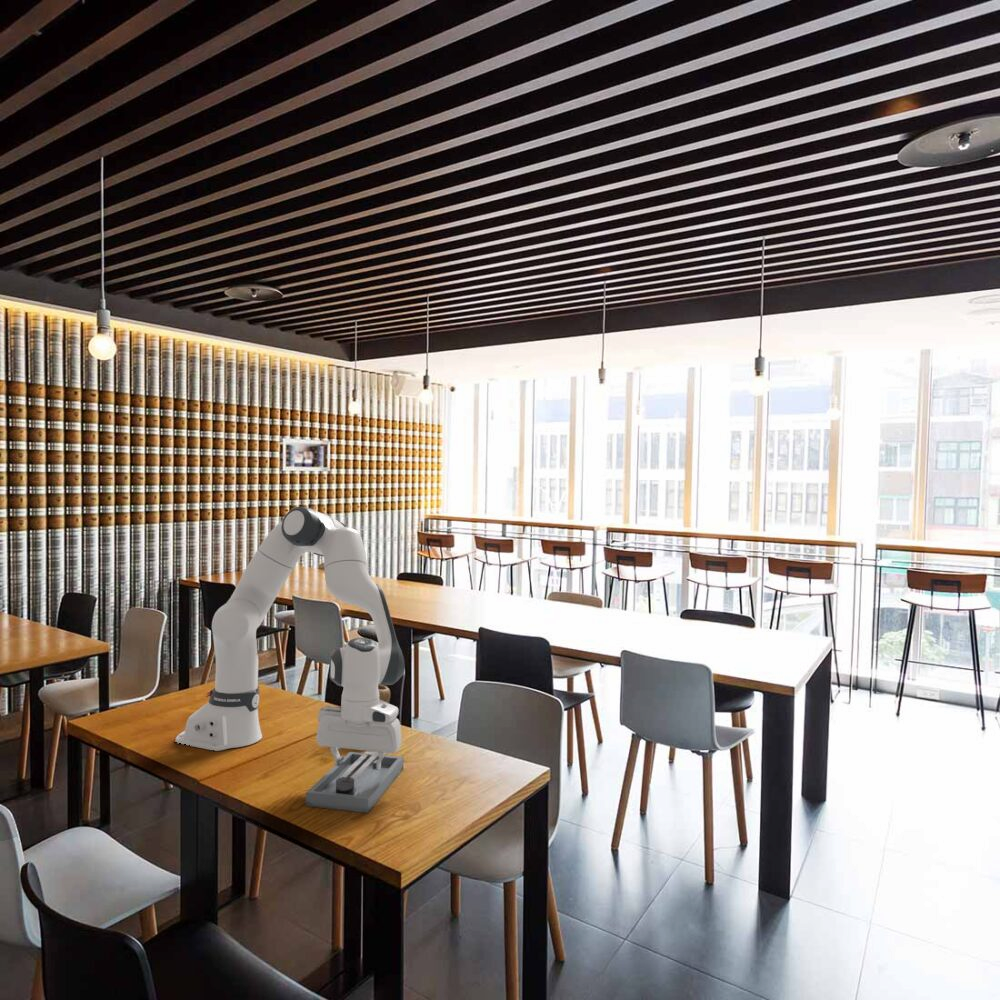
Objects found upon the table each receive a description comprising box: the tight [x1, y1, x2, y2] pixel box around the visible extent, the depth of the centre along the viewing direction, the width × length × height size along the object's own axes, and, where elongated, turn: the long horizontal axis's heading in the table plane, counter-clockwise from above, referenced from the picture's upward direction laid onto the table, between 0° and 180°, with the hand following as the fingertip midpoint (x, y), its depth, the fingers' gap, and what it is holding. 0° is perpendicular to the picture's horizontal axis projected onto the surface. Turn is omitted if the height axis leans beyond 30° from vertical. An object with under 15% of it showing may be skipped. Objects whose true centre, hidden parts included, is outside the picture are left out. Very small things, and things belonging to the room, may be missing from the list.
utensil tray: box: [305, 751, 405, 814], centre depth 163 cm, size 14×25×3 cm, turn 170°
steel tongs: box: [336, 751, 380, 795], centre depth 163 cm, size 4×20×4 cm, turn 170°
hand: (357, 767), depth 163 cm, fingers open, 8 cm apart
